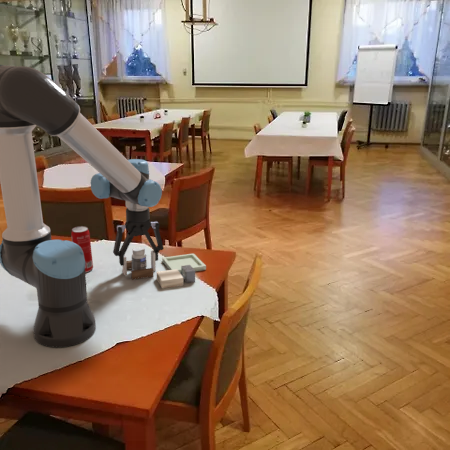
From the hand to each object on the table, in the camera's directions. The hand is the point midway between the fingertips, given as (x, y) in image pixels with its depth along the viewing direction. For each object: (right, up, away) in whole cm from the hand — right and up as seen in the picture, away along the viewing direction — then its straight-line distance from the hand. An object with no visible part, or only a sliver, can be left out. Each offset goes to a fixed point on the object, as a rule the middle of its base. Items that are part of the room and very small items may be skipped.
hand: (139, 271), depth 153 cm
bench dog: (+17, -2, -4) cm, 17 cm away
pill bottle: (0, 0, 0) cm, 0 cm away
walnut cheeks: (0, 0, 0) cm, 0 cm away
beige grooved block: (+11, -3, -6) cm, 13 cm away
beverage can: (-19, 0, 0) cm, 19 cm away
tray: (+14, +1, +7) cm, 16 cm away
